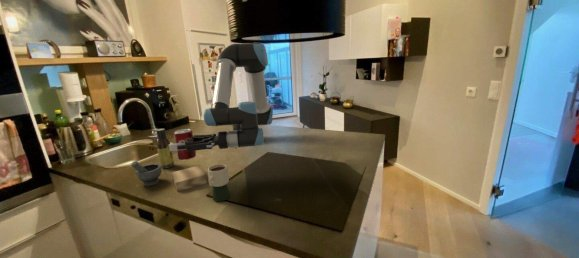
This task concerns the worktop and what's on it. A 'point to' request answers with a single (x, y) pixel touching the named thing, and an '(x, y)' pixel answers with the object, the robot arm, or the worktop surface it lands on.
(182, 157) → the soda can
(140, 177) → the mortar and pestle
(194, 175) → the oak block
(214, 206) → the worktop surface
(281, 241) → the worktop surface
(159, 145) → the sauce bottle
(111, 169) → the worktop surface
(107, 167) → the worktop surface
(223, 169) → the character mug
